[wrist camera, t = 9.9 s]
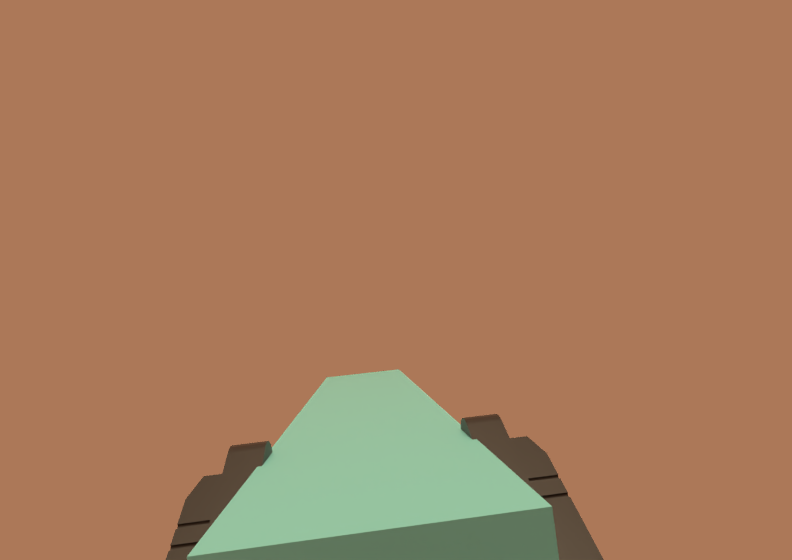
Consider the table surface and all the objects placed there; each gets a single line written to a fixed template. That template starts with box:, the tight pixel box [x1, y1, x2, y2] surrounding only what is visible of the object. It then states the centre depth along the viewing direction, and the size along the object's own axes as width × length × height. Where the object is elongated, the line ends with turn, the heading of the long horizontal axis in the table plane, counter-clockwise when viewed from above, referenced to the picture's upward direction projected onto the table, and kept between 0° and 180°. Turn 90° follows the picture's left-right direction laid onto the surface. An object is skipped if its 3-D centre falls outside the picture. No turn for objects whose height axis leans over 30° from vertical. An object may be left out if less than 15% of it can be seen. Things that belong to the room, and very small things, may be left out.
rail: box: [187, 370, 559, 560], centre depth 17 cm, size 23×4×4 cm, turn 5°
